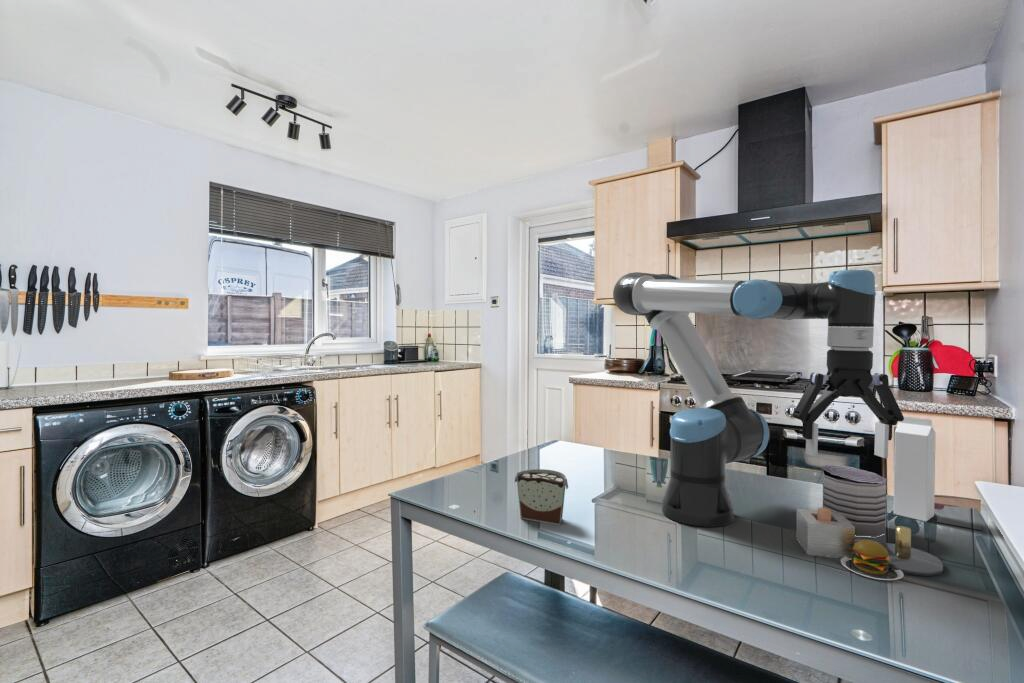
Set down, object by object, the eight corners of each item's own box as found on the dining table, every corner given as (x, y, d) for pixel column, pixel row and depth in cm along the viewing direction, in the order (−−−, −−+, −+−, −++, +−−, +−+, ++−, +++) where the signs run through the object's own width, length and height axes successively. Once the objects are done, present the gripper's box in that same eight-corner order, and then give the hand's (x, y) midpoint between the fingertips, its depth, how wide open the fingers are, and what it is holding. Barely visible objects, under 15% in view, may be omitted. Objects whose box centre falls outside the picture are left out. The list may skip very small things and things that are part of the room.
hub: (880, 571, 86) (880, 536, 86) (856, 544, 97) (856, 514, 97) (957, 579, 83) (957, 544, 83) (923, 551, 94) (924, 520, 94)
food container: (575, 516, 112) (575, 472, 112) (566, 526, 107) (566, 479, 106) (525, 508, 117) (525, 466, 117) (514, 517, 112) (514, 473, 112)
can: (829, 513, 114) (829, 461, 114) (890, 527, 106) (891, 471, 105) (814, 527, 106) (815, 471, 106) (880, 543, 98) (881, 482, 97)
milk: (926, 522, 109) (928, 421, 108) (892, 514, 113) (894, 417, 113) (934, 515, 112) (936, 418, 112) (901, 508, 117) (903, 414, 116)
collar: (807, 554, 93) (807, 522, 93) (796, 538, 100) (796, 508, 100) (854, 559, 91) (854, 527, 91) (839, 542, 98) (839, 512, 98)
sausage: (819, 550, 95) (819, 510, 95) (815, 545, 97) (816, 507, 97) (832, 551, 94) (832, 512, 94) (828, 546, 96) (828, 508, 96)
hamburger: (886, 597, 79) (887, 562, 79) (815, 564, 90) (815, 534, 90) (931, 582, 84) (931, 549, 84) (857, 553, 95) (858, 524, 95)
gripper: (796, 349, 95) (792, 460, 96) (929, 350, 94) (925, 462, 95) (775, 347, 102) (773, 450, 103) (899, 348, 102) (895, 451, 102)
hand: (846, 456), depth 99 cm, fingers open, 13 cm apart
